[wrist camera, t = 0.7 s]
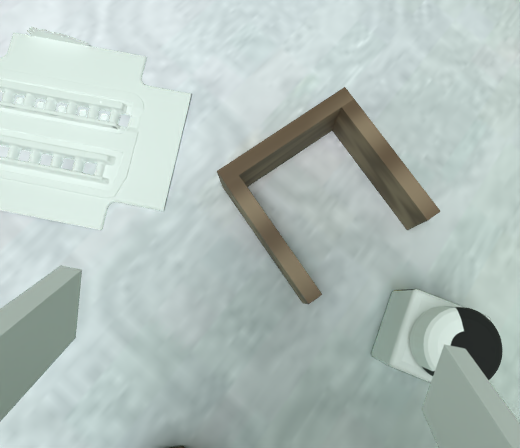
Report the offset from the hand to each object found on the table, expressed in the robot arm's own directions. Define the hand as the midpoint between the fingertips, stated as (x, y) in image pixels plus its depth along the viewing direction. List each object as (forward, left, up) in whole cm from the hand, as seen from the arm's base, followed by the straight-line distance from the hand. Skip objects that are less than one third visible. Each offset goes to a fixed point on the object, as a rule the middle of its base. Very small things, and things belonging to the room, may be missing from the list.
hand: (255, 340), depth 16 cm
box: (+5, -12, -30) cm, 33 cm away
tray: (+29, +7, -31) cm, 44 cm away
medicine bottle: (-11, -12, -31) cm, 34 cm away
